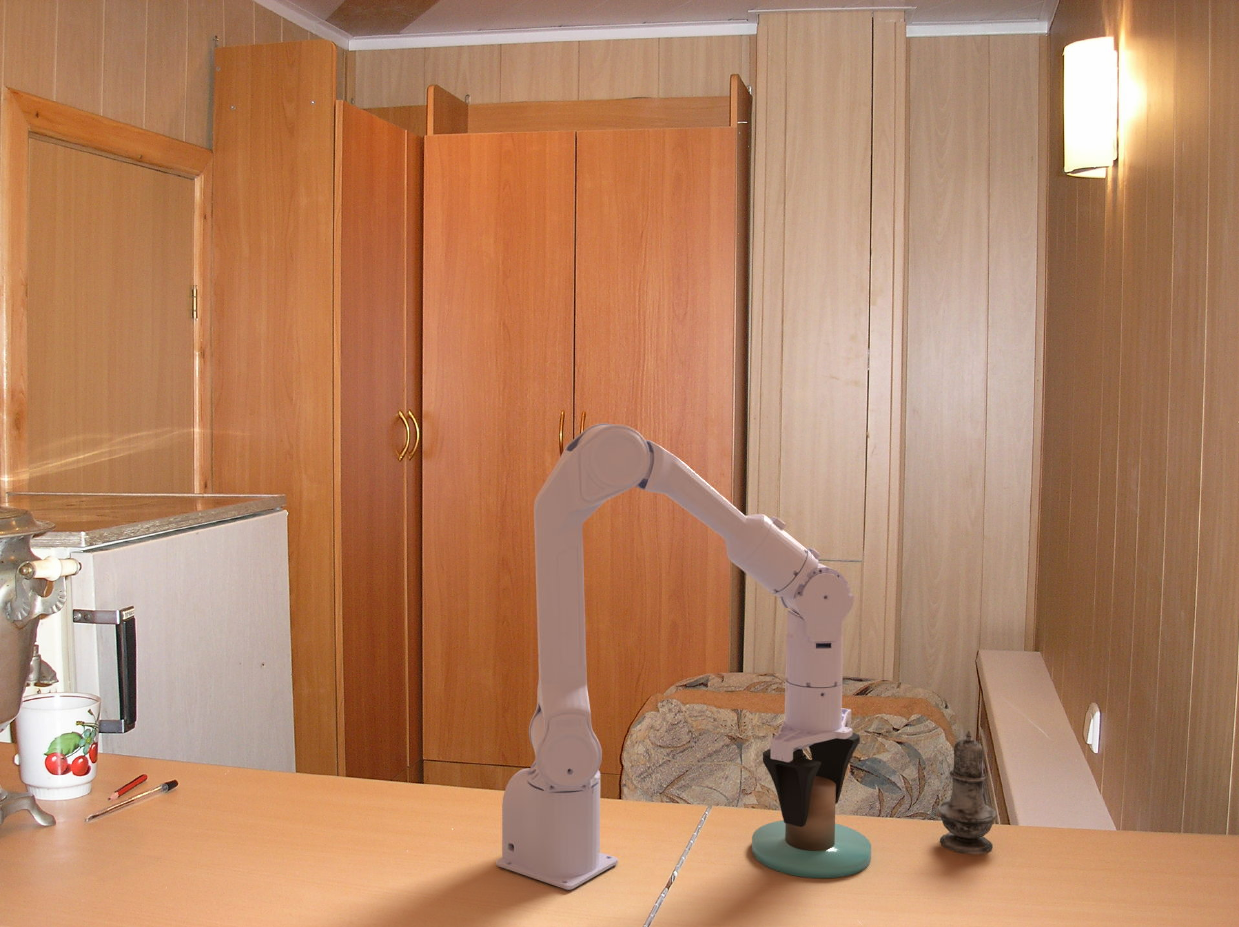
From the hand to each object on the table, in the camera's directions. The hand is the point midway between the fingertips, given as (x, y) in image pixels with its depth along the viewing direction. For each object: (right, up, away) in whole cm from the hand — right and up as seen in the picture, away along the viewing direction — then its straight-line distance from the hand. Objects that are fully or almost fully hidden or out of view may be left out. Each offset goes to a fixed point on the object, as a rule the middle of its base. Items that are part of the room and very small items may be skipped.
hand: (811, 812), depth 110 cm
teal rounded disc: (0, -4, 0) cm, 4 cm away
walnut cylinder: (0, -3, 0) cm, 3 cm away
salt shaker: (+17, -4, +3) cm, 18 cm away
